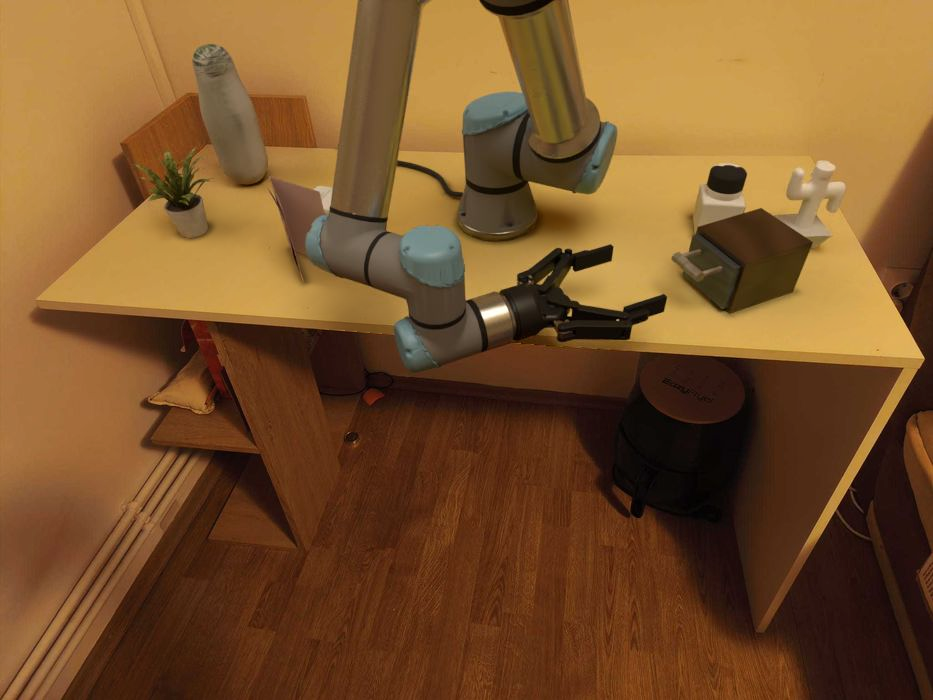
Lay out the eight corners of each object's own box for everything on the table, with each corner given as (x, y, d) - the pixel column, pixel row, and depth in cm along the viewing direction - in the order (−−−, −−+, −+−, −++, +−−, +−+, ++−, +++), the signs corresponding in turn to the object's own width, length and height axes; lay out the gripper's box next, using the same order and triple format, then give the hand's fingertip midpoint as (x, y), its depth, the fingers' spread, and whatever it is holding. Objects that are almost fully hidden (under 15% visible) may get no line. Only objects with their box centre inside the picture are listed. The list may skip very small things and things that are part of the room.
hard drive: (352, 220, 122) (299, 210, 125) (371, 199, 127) (320, 190, 131) (350, 213, 120) (297, 203, 124) (370, 192, 126) (318, 183, 129)
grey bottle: (217, 183, 135) (169, 48, 116) (256, 165, 140) (215, 33, 121) (244, 196, 130) (197, 58, 111) (282, 177, 136) (245, 42, 116)
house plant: (250, 229, 121) (224, 150, 110) (186, 261, 114) (151, 180, 103) (213, 205, 128) (184, 129, 117) (150, 234, 121) (114, 156, 110)
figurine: (831, 253, 106) (866, 173, 96) (776, 255, 106) (806, 176, 96) (813, 230, 112) (845, 152, 101) (761, 232, 112) (787, 155, 101)
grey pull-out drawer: (695, 318, 95) (706, 278, 89) (657, 283, 101) (665, 243, 96) (780, 289, 99) (796, 248, 93) (738, 257, 105) (751, 217, 100)
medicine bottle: (735, 240, 110) (754, 179, 102) (694, 237, 112) (709, 177, 103) (731, 219, 115) (748, 159, 107) (692, 216, 117) (706, 157, 108)
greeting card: (286, 250, 115) (263, 177, 104) (324, 240, 117) (306, 167, 106) (299, 284, 107) (276, 208, 97) (340, 272, 109) (322, 197, 99)
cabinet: (729, 313, 96) (745, 263, 90) (685, 275, 104) (697, 226, 97) (792, 292, 99) (813, 242, 93) (745, 256, 107) (761, 207, 100)
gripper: (471, 288, 96) (590, 253, 102) (546, 395, 79) (683, 347, 85) (470, 248, 91) (594, 214, 96) (549, 353, 74) (695, 305, 79)
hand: (636, 276), depth 90 cm, fingers open, 13 cm apart
